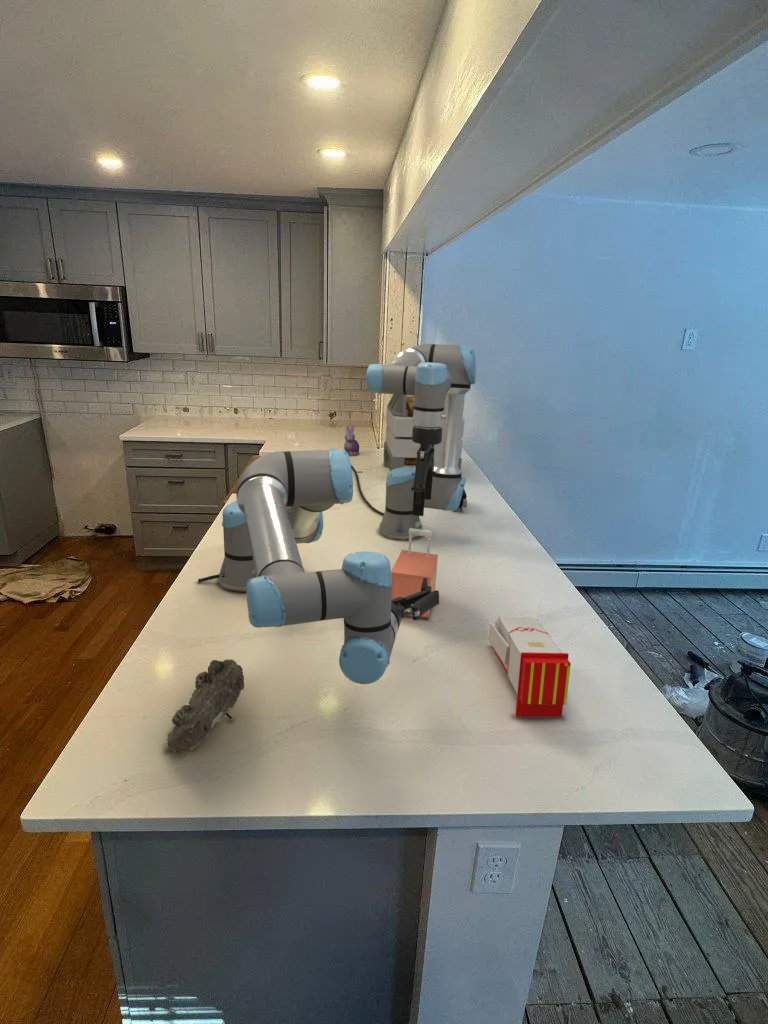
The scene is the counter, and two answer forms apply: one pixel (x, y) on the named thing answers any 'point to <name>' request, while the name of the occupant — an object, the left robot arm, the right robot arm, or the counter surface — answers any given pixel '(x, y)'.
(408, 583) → the chest
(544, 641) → the toy
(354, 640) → the left robot arm
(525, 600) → the counter surface
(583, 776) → the counter surface
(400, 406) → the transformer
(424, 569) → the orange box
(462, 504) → the figurine character
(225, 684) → the fossil
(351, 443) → the figurine
